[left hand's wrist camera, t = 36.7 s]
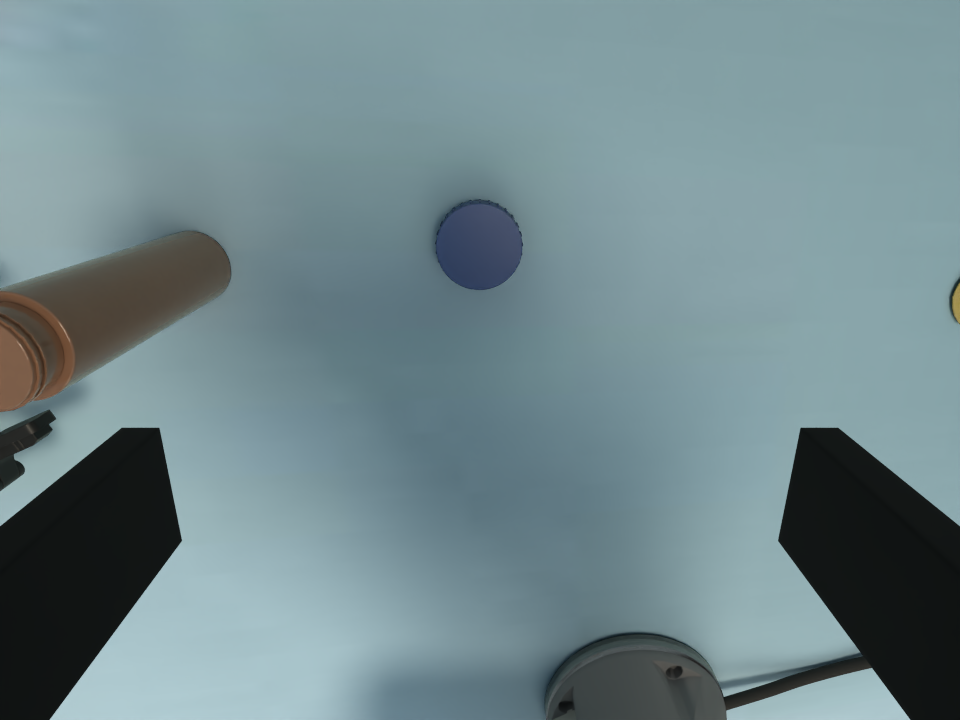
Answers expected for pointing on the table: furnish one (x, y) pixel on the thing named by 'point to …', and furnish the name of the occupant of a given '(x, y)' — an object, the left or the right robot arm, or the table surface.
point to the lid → (479, 245)
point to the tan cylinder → (100, 311)
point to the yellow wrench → (956, 303)
